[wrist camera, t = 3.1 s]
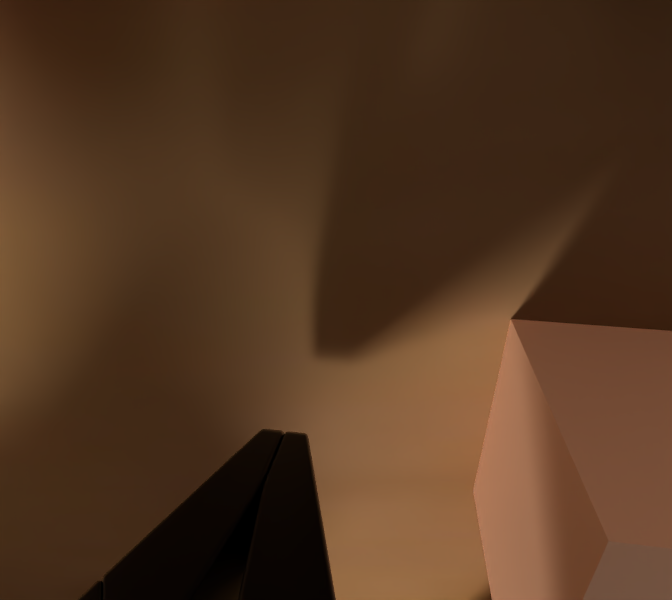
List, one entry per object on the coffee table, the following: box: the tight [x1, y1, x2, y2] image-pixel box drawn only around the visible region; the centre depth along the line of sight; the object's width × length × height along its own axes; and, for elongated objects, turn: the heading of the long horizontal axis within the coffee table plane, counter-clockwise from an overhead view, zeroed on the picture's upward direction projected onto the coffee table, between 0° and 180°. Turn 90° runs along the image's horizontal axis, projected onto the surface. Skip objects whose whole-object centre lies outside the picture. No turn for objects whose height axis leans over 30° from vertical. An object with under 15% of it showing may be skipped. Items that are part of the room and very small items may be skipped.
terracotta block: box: [473, 319, 672, 600], centre depth 7 cm, size 4×4×4 cm
